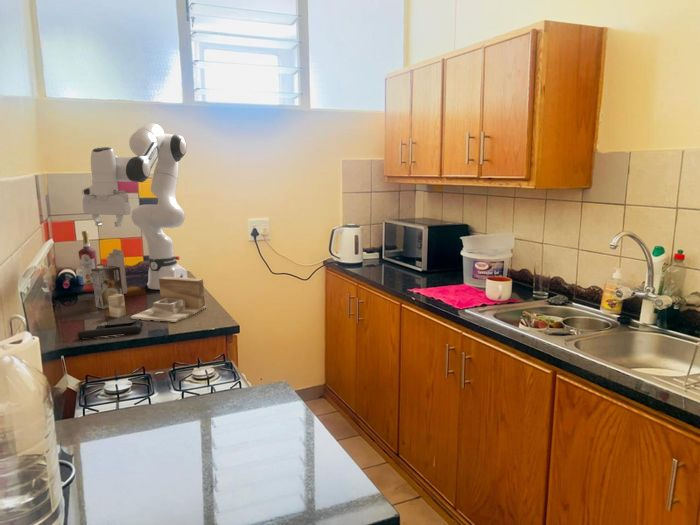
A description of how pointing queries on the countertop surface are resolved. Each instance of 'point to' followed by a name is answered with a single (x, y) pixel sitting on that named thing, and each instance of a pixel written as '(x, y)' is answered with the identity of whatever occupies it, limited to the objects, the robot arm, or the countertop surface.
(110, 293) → the coffee box
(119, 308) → the maple peg
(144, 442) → the countertop surface
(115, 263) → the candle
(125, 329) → the door handle
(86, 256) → the liquor
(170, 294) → the wooden stand
